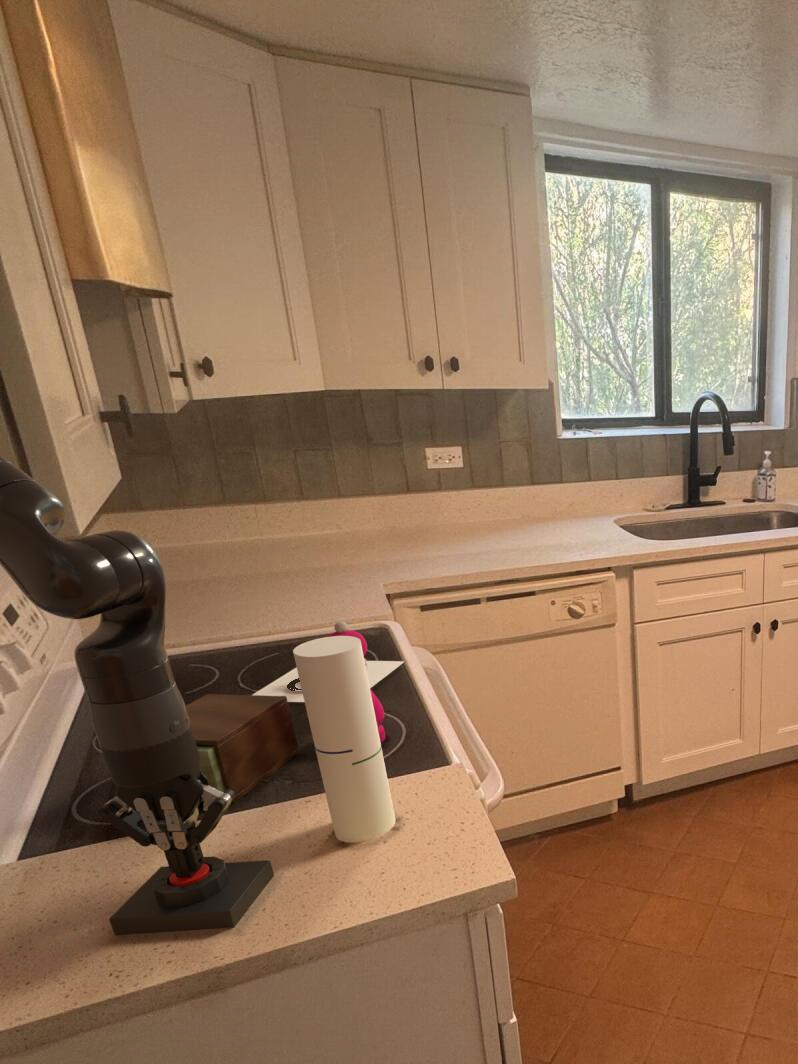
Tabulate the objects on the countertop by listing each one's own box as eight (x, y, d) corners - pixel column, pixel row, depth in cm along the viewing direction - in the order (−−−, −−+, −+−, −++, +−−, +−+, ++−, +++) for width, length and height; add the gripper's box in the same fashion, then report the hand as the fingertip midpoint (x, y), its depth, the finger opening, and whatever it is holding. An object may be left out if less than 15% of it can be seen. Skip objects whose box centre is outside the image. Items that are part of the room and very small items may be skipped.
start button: (166, 897, 84) (161, 884, 84) (185, 876, 88) (181, 863, 87) (201, 895, 85) (197, 882, 84) (219, 874, 88) (215, 861, 87)
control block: (114, 936, 82) (103, 904, 81) (166, 882, 91) (156, 853, 89) (234, 928, 83) (225, 897, 82) (274, 875, 92) (266, 846, 90)
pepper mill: (342, 734, 126) (317, 617, 119) (391, 728, 128) (369, 612, 121) (335, 755, 119) (308, 632, 112) (386, 748, 121) (362, 626, 114)
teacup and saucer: (306, 674, 150) (302, 654, 148) (346, 675, 149) (342, 655, 148) (277, 693, 142) (272, 672, 140) (320, 694, 141) (315, 673, 140)
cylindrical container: (338, 817, 103) (298, 640, 94) (396, 807, 105) (363, 632, 97) (331, 847, 97) (288, 660, 88) (394, 835, 99) (357, 651, 90)
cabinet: (233, 803, 107) (216, 740, 103) (147, 800, 108) (127, 737, 104) (299, 752, 120) (286, 695, 117) (222, 750, 121) (207, 693, 118)
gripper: (233, 711, 83) (269, 848, 90) (101, 717, 82) (147, 856, 88) (192, 744, 76) (235, 890, 83) (48, 751, 75) (102, 899, 81)
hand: (189, 872), depth 85 cm, fingers closed
